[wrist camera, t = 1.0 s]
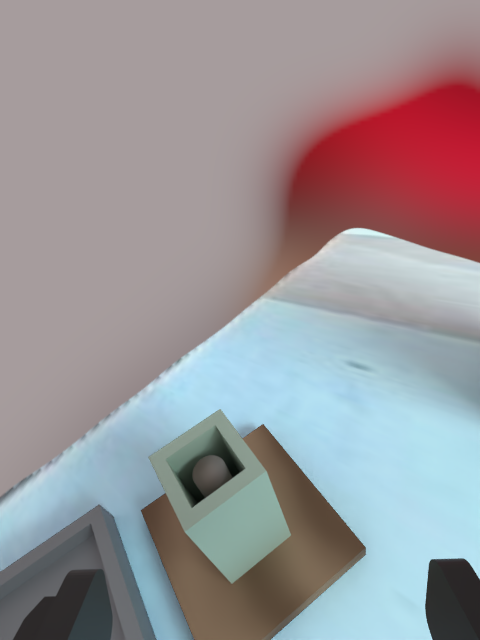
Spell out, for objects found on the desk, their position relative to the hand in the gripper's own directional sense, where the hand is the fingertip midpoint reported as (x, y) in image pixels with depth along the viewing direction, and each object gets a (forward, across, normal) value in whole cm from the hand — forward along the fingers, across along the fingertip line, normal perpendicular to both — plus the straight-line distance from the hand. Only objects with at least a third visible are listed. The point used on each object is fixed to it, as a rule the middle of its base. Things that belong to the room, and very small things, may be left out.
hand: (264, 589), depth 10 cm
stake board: (+16, +1, +14) cm, 22 cm away
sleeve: (+16, +2, +13) cm, 20 cm away
